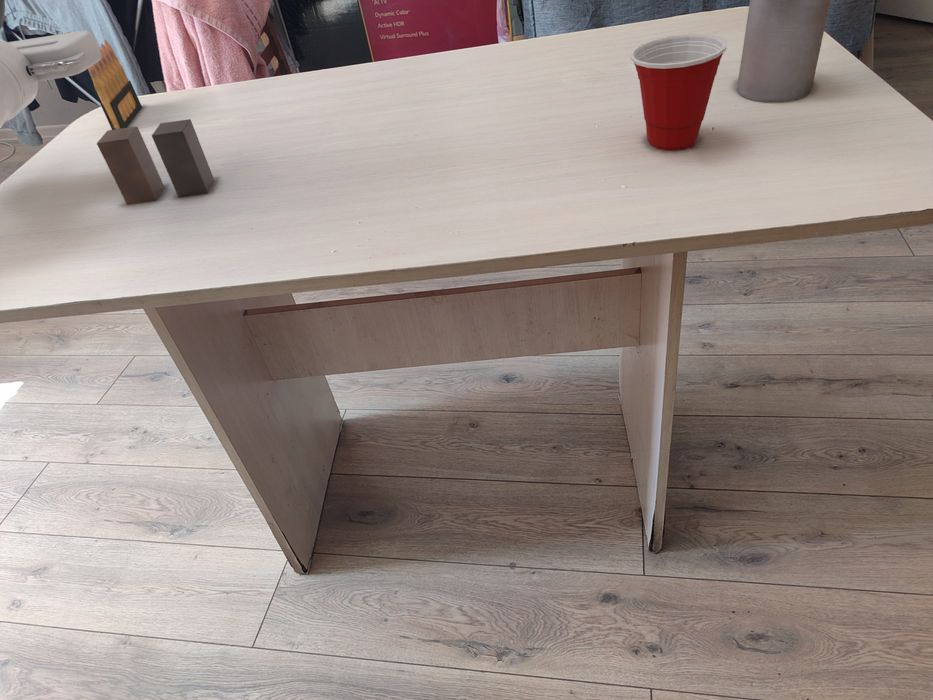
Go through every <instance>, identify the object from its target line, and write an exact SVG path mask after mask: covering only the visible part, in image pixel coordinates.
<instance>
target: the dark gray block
mask: <svg viewBox="0 0 933 700" xmlns="http://www.w3.org/2000/svg"><path fill="white" fill-rule="evenodd" d="M151 138H152V140H153V142H154V144H155V147H156V149H157V151H158V153H159V156H160V158H161V160H162V163H163V165H164V168H165V170H166V172H167V174H168V177H169V179H170V182H171V183H172V185H173V188H174V190H175V192H176V195H177V197H178V199H179V198H186V197H193V196H194V197H195V196H200V195H201V196H202V195H208V194H209V192H210V190H211V189H212V186H213V184H214V182H215V178H214V175H213V173H212V170H211V168H210V165H209V163H208V160H207V158H206V154H205V152H204V150H203V147H202V145H201V142H200V139H199V137H198V135H197V132H196V129H195V126H194V124H193V122H192V119H190V118H188V119H181V120H173V121H165V122H161V123H159V124H158V126H157V127H156V129H155V130H154V132H153V133H152V134H151Z"/></svg>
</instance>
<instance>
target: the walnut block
mask: <svg viewBox="0 0 933 700" xmlns="http://www.w3.org/2000/svg"><path fill="white" fill-rule="evenodd" d="M96 145H97V148H98V149H99V152H100V153H101V155H102V158H103V160H104V161H105V164H106V165H107V167H108V170H109V172H110V173H111V176H112V177H113V179H114V181H115V183H116V186H117V187H118V190H119V191H120V194H121V196H122V198H123V200H124V202H125V204H126V205H127V206H129V205H135V204H141V203H142V204H143V203H149V202H156V201H158V199H159V197H160V196H161V194H162V192H163V190H164V188H165V185H164V183H163V179H162V178H161V176H160V174H159V171H158V170H157V167H156V165H155V162H154V160H153V158H152V156H151V154H150V152H149V149H148V146H147V144H146V142H145V140H144V137H143V136H142V133H141V132H140V129H139V126H130V127H127V128H122V129H115V130H112V129H110V130H109V129H108V130H107V131H106V132H105V133H104V134H103V135H102V136H101V137H100V139H99V140H98V141H97V142H96Z"/></svg>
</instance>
